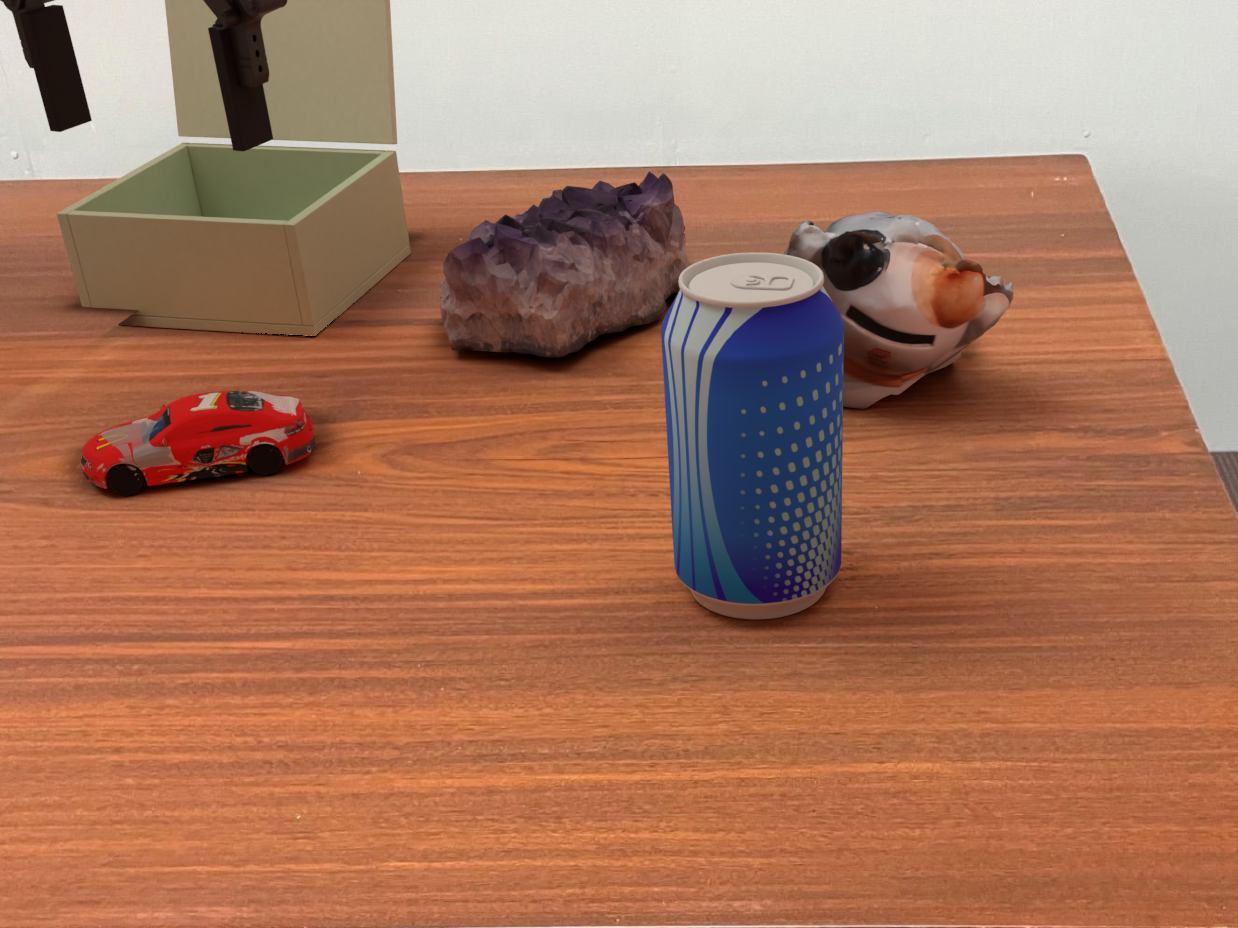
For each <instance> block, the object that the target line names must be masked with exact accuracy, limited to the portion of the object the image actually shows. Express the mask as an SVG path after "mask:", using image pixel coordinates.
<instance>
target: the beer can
mask: <svg viewBox="0 0 1238 928" xmlns="http://www.w3.org/2000/svg"><path fill="white" fill-rule="evenodd" d="M689 265H690V264H689ZM678 283H679V288H680V290H679V292H678V293H676V296H675V298H674V299H673V302H672V303H671V306H670V307H669V309H668V310H667V313H666V314H665V316H664V318H663V321H662V324H661V328H660V339H661V352H662V353H661V354H662V355H661V357H662V372H663V374H662V375H663V388H664V389H663V391H664V409H665V410H664V411H665V426H666V427H665V428H666V442H667V461H668V462H667V463H668V478H669V479H668V480H669V494H670V495H669V496H670V497H669V498H670V511H671V512H670V513H671V529H672V530H671V531H672V546H673V547H672V551H673V565H674V571H675V574H676V576H677V578H678V580H679V581H680V583H681V584H682V585H684V586H685V587H686V589H688V590H690V593H691V595H692V596H693V598H694V599H695V601H696V602H697V603H698V604H700V605H701V606H702V607H704V608H705V609H706V610H709V611H711V612H713V613H715V614H717V615H721V616H724V617H728V618H734V619H740V620H771V619H778V618H783V617H788V616H792V615H795V614H797V613H800V612H802V611H804V610H806V609H808V608H810V607H811V606H813V605H814V604H816V603H817V602H818V601H819V600H820V599H821V597H822V596H823V595H824V593H825V592H826V590H827V588H828V586H829V585H830V584H832V582H834V580H835V579H836V578H837V576H838V574H839V573H840V570H841V566H842V537H843V535H842V534H843V533H842V532H843V531H842V527H843V526H842V525H843V450H844V449H843V447H844V446H843V445H844V443H843V441H844V438H843V436H844V407H843V360H844V326H843V320H842V318H841V315H840V313H839V312H838V310H837V308H836V307H835V305H834V303H833V302H832V300H831V298H830V297H829V295H828V294H827V292H826V290H825V289H824V287H823V283H824V275H823V272H822V270H821V269H820V268H819V267H818V266H816V265H815V264H813V263H812V262H809V261H807V260H805V259H802V258H798V257H794V256H790V255H784V253H775V252H761V251H760V252H753V251H752V252H736V253H728V254H721V255H717V256H712V257H709V258H705V259H702V260H699V261H697V262H695V263H693V264H691V265H690V266H689V267H687V268H686V269H685V270H684V271H683V272H682V273H681V274H680V276H679V280H678Z"/></svg>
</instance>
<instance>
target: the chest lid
mask: <svg viewBox="0 0 1238 928" xmlns="http://www.w3.org/2000/svg"><path fill="white" fill-rule="evenodd" d="M164 6H165V7H164V8H165V14H166V15H165V16H166V26H167V27H166V28H167V35H168V36H167V37H168V46H169V55H170V56H169V57H170V65H171V76H172V88H173V96H174V97H173V98H174V106H175V107H174V108H175V117H176V127H177V136H178V137H185V138H209V139H211V138H213V139H231V137H230V132H229V127H228V123H227V118H226V113H225V108H224V103H223V98H222V94H221V89H220V84H219V79H218V74H217V69H216V65H215V60H214V55H213V50H212V45H211V40H210V36H209V31H208V28H210V27H213V26H212V25H213V24H216V23H215V21H216V20H217V17H216V16H215V15H214V13H213V12H212V11H211V10H210V8H209V7H208V6H207V5H206V3H205V2H204V1H203V0H164ZM261 30H262V36H263V41H264V46H265V52H266V53H265V54H266V57H267V63H268V68H269V80H268V82H266V83H264V84H263V88H264V93H265V98H266V104H267V109H268V114H269V119H270V124H271V130H272V135H273V140H272V141H291V142H293V141H294V142H316V143H317V142H318V143H319V142H320V143H342V144H343V143H344V144H345V143H346V144H370V145H371V144H372V145H373V144H374V145H398V131H397V129H398V128H397V109H396V92H395V89H396V88H395V71H394V69H395V68H394V52H393V50H394V49H393V34H392V33H393V31H392V15H391V0H287V4H286V5H285V6H284V7H281V8H278V9H276V10H274V11H272V12H270V13H268V14H266V15H264V16H263V18H262V20H261Z"/></svg>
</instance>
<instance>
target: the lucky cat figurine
mask: <svg viewBox="0 0 1238 928" xmlns="http://www.w3.org/2000/svg"><path fill="white" fill-rule="evenodd" d="M783 254H784V255H790V256H794V257H798V258H802V259H805V260H807V261H809V262H812V263H813V264H815V265H816V266H818V267H819V268H820V269H821V270H822V272H823V275H824V283H823V287H824V289H825V290H826V292H827V294H828V295H829V297H830V298H831V300H832V302H833V303H834V305H835V307H836V308H837V310H838V312H839V313H840V315H841V318H842V320H843V326H844V360H843V408H852V409H860V410H863V409H868V408H869V407H870V406H872V405H874V404H875V403H877V402H878V401H880V400H882V399H884V398H886V397H888V396H890V395H894V396H898V395H900V394H902V393H903V392H904V391H906V390H907V389H908V388H910V387H911V386H913V385H914V384H915V383H916V382H917V381H919V380H920V379H921V378H923V377H925V376H926V375H928V374H931V373H933V372H936V371H938V370H941V369H943V368H946V367H947V366H949V365H951V364H953V363H954V362H956V361H959V360H960V359H961V356H962V351H963V350H964V349H966V348H967V347H968V346H969V345H971V344H972V343H973V342H975V341H976V340H977V339H979V338H981V337H982V336H983V335H984V334H985V333H986V332H988V331H989V330H990V329H992V328H993V327H995V326H996V324H997V323H998V322H999V321H1000V319H1001V318H1002V316H1003V315H1004V314H1005V313H1006V311H1007V310H1008V309H1009V308H1010V306H1011V304H1012V302H1013V300H1014V284H1013V282H1012V281H1009V283H1008V284H1006V283H1005V281H1004V279H1003V277H1002V275H998V276H997V275H991V276H989V275H986V273H984V269H983V266H982V265H981V264H980V263H977V262H976V261H972V260H970V259H966V258H965V256H964V253H963V252H962V250H961V248H960V247H958V246H957V245H956V244H955V243H954V242H953V241H951V239H949V238H948V237H947V236H946V235H945V234H944V233H942V232H941V231H940V230H939V229H938V228H937V227H936V226H935V225H934V224H932V223H931V222H930V221H927V220H924V219H922V218H919V217H917V216H913V215H912V214H898V215H897V214H893V213H887V212H882V211H873V212H861V213H858V214H851V215H850V214H849V215H846V216H844V217H840V218H838V219H836V220H834V221H833V222H831V223H830V224H829V226H828V227H827V228H826V229H825V231H824V230H822V229H821V228H820V227H818V226H817V225H815V223H814V222H812V220H805V221H803V222H801V223H799V226H798V227H797V229H795V230H794V231H792V233H791V236H790V239H789V242H788V246H787V248H786V250H785V251H783Z"/></svg>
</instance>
